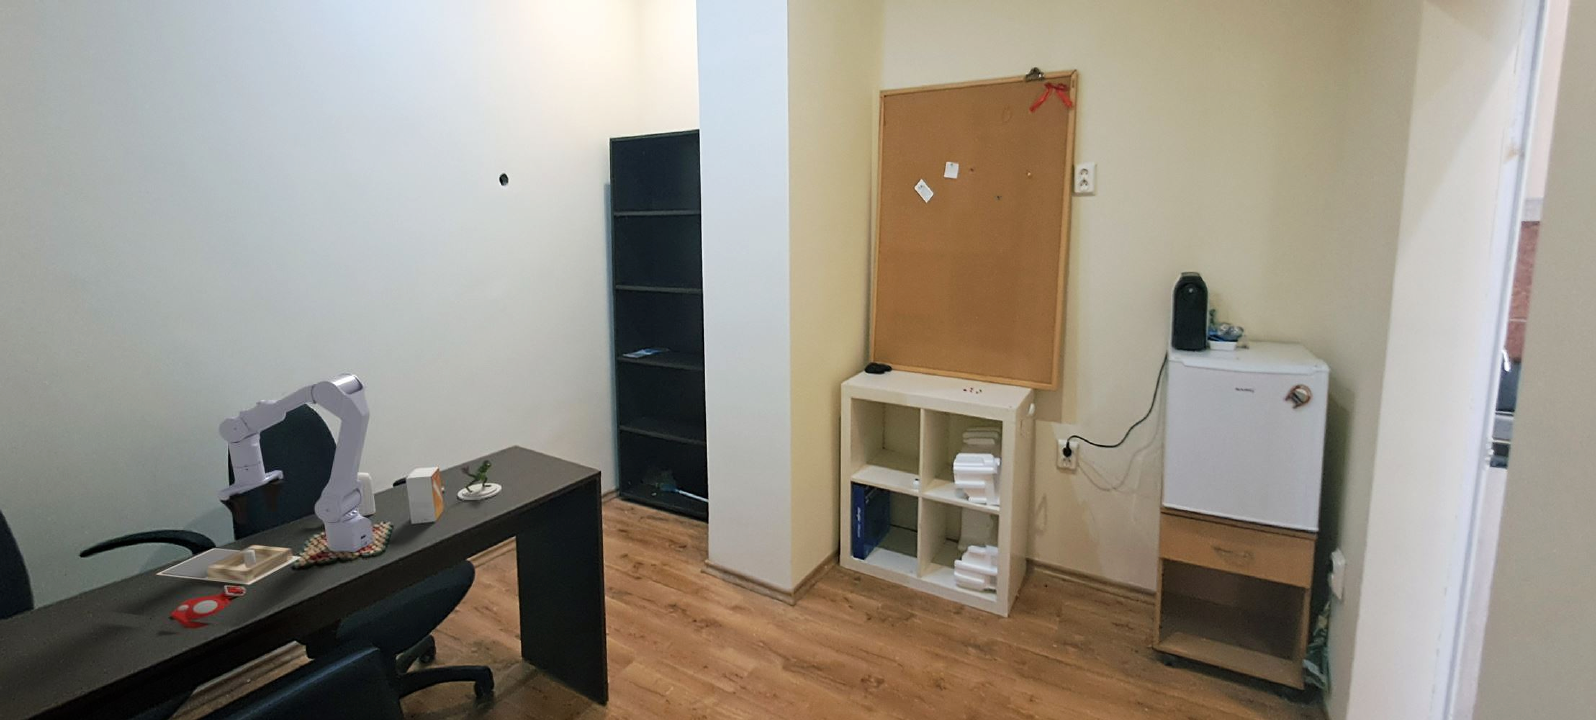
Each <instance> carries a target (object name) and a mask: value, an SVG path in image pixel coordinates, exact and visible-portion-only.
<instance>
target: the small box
mask: <svg viewBox="0 0 1596 720" xmlns="http://www.w3.org/2000/svg"><path fill="white" fill-rule="evenodd" d="M441 481H442V480H441V473H440V466H433V467H419V468H414V470H413V471H411V473H409V475H408V476H406V478H405V483H406V489H407V490H406V491H407V498H408V505H409V513H410V521H411V524H412V525H413V524H414V525H415V524H422V523H423V524H425V523H432V522H433V523H434V522H437V521H438V519H439V517H440V516H441V515H442V513H444V510H445V509H444V507H445V506H444V500H443V491H442V490H443V489H442V482H441Z"/></svg>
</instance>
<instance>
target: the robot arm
mask: <svg viewBox="0 0 1596 720" xmlns="http://www.w3.org/2000/svg"><path fill="white" fill-rule="evenodd" d="M359 378H360V377H358V376H357V375H355V374H353V373H349V372H345V373H341V374H340V375H338V376H333V377H330V378H327V379H324V380H320V381H317V382H313V383H311V384H308V385H305V386H303V387H302V388H300V389H298V390H295V391H294V392H292V393H290V394H289V395H287V396H285V397H283V398H281V399H279V400H278V401H277V400H276V399H268V400H266V399H262V400H261V399H260V400H258V401H257V402H255V404H256V405H255V406H253V407H251V408H249V409H243V410H240V411H239V412H238V415H235V416H233V417H228V418H227V417H226V418H225V419H224V420H223V421H222V422H220V424H219V426H218V433H219V436H221V438H222V439H223V440H225V441H226V442H227V445H228V449H229V455H230V460H231V466H232V470H233V475H234V483H232V484H231V485H229V486H228V487H225V488H224V489H221V490H219V491H217V492H216V494H217V498H218V500H219V501H220V503H222V504H223V505H224V506H225V507H226V508H227V509H228V510H229V512H230V513H231V514H232V516H233V517H234V519H235V521H236V523H237V524H241V525H246V524H247V523H248V518H247V517H248V516H247V510H246V509H247V508H246V507H247V505H246V504H247V500H248V497H247V496H242V494H243V493H245V492H248V491H250V490H253V489H255V488H258V487H259V489H260V490H261V492H262V494H263V498H264V501H265V507H266V509H267V511H270V512H275V511H277V510H278V503H279V497H280V495H281V494H280V493H281V491H282V489H283V487H284V485H285V482H284V480H282V479H284V475H283V471H282V470H273V471H270V472H265V466H264V461H263V455H262V450H261V445H260V440H261V436H260V435H261V432H262V431H264V430H266V429H268V428H270V427H272V426H274V425H277V424H279V423H280V422H282V421H284V420H285V418H286V415H287V413H288V412H290V411H292V410H295V409H297V408H299V407H300V406H303V405H305V404H308V403H310V404H312V405H315V404H318V405H319V406H320V407H321V408H323V409H325V410H326V411H328V412H329V413H331V414H332V415H334V416H335V417H337V418H339V419H340V420H341V423H340V427H339V432H338V438H337V443H336V447H335V448H336V449H335V453H334V459H333V463H332V468H331V472H330V473H331V474H330V478H329V480H330V481H329V480H328V483H327V484H326V486H325V487H324V488H323V489H322V492H321V495H320V497H319V499H318V500H317V501H316V503H315V504H314V513H315V515H316V517H318V519H320V520H321V521H322V523H323V524H324V528H325V529H324V530H325V536H326V542H327V549H328V550H329V551H331V552H352V553H355V552H357V551H359V550H361V549H363V548H366V547H367V546H368V545H370V544H372V543H373V542H375V538H374V532H373V526H372V525H373V524H372V521H371V520H370V519H369V518H368V517H365V516H361V515H360V514H359V511H358V510H359V505H360V503H361V502H362V499H363V495H362V492H361V484H362V483H361V482H360V481H358V480H357V475H358V473H359V469H360V464H361V459H362V455H363V449H364V444H365V440H366V434H367V429H368V425H369V421H370V414H371V413H370V409H369V405H368V402H367V397H366V396H365V392H366V385H365V384H364V383H363V382H362V381H361V379H359Z"/></svg>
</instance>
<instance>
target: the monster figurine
mask: <svg viewBox="0 0 1596 720" xmlns="http://www.w3.org/2000/svg"><path fill="white" fill-rule="evenodd" d="M491 462H492V461H490V460H488V459H486V460H484V461H483V462H482V464H481V463H480V465H476V467H478V468H477V469H476V471H475V473H469V472H470V471H469V470H470V466H469V465H467V466H466V467H465V466H464V467H462V466H460V470H461V472H462V473H463V474H465V475H467V476H469V477H470V478H472V479H473V478H474V479H473V480H471V481H470V482H469V483H468V484H467V485H466V486H465V487H464V488H463V489H460V491H458V493H457V498H458V497H459V498H460V499H464V500H473V499H484V498H486V497H491V496H493V495H495V494H497V493H498V492H499V491H501V489H503V487H502V486H501V484H498V483H489V482H488V483H487V481H488V477H487V476H486V474H487V471H488V470H489V469H490V468H492V463H491ZM478 481H481V482H482V483H477V484H475V483H476V482H478ZM501 492H502V491H501ZM459 498H458V499H459ZM491 498H492V497H491ZM460 499H459V500H460ZM464 500H463V501H464ZM484 500H485V499H484Z"/></svg>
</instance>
